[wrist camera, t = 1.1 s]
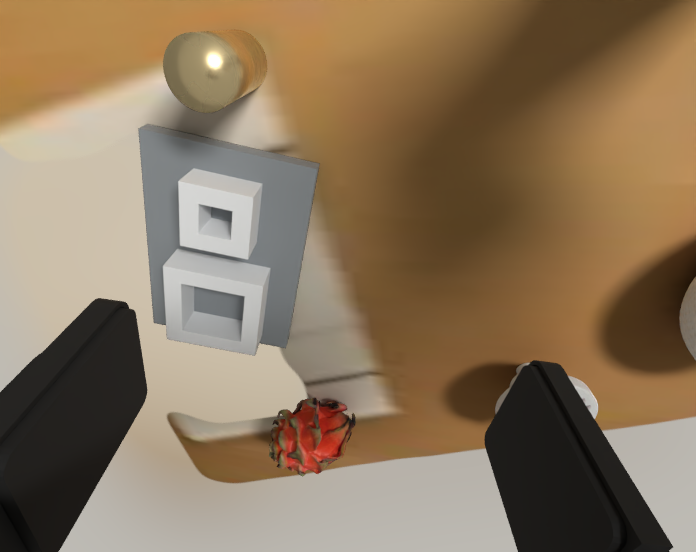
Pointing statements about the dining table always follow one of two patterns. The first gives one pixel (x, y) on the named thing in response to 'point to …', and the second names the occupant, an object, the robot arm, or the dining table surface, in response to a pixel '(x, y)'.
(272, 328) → the socket board
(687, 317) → the cereal bowl
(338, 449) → the dragon fruit
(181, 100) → the gold rounded cylinder
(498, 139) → the dining table surface
